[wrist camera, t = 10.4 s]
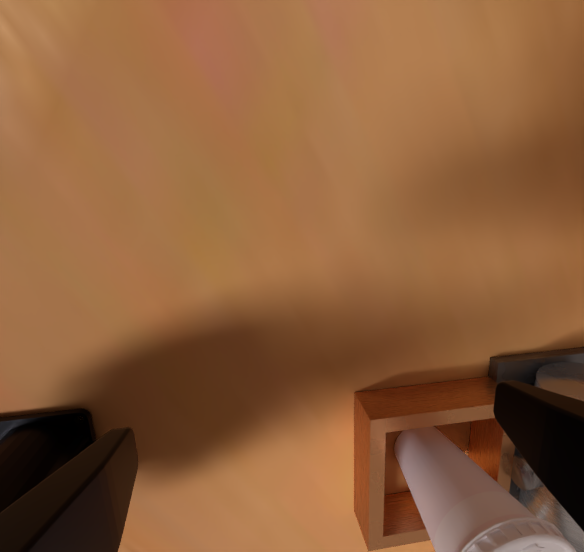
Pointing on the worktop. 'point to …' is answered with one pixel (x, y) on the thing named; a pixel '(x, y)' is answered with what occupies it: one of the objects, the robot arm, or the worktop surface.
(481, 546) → the white cup with straw
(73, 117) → the worktop surface
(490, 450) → the motor unit
